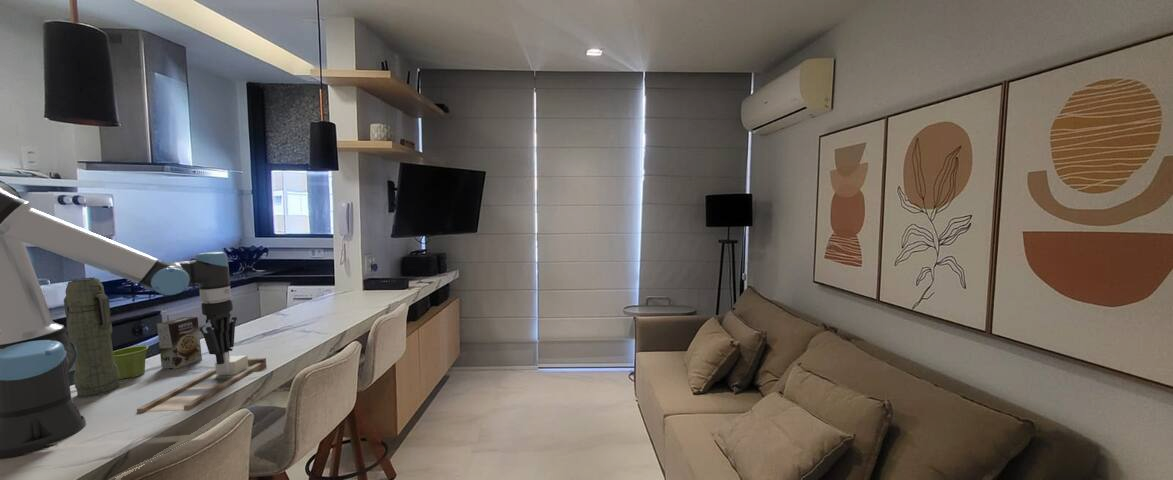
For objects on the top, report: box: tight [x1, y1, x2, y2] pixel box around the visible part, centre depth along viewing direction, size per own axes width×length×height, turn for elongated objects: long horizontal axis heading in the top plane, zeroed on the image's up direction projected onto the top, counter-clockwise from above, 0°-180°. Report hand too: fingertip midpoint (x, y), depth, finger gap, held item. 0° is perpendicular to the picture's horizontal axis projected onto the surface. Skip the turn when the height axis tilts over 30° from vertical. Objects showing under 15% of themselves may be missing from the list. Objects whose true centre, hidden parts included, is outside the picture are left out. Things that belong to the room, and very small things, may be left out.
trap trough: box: [136, 357, 268, 414], centre depth 134 cm, size 33×13×3 cm, turn 6°
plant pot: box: [113, 345, 149, 380], centre depth 146 cm, size 9×9×9 cm
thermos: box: [63, 277, 120, 398], centre depth 133 cm, size 9×12×35 cm
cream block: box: [214, 354, 249, 376], centre depth 144 cm, size 6×6×4 cm
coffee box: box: [156, 316, 203, 370], centre depth 155 cm, size 9×6×16 cm
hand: (224, 372), depth 140 cm, fingers closed
